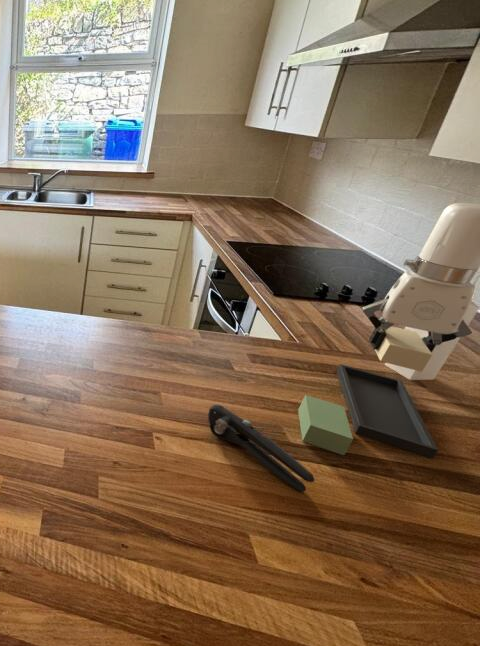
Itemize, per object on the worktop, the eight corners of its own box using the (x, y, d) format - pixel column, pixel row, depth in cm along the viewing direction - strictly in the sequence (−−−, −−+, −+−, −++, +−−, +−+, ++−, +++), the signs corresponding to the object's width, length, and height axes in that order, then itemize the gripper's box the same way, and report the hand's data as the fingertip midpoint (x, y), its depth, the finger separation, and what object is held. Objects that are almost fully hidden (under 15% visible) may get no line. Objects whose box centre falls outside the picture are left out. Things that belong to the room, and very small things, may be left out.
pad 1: (335, 422, 79) (343, 406, 78) (344, 455, 72) (353, 439, 70) (298, 410, 82) (305, 394, 80) (302, 441, 75) (310, 424, 73)
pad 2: (407, 347, 85) (416, 331, 83) (421, 371, 77) (432, 354, 75) (369, 338, 88) (377, 323, 86) (380, 361, 80) (389, 344, 78)
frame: (397, 387, 89) (401, 380, 88) (432, 458, 71) (438, 450, 71) (336, 370, 94) (339, 363, 94) (355, 433, 77) (359, 425, 76)
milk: (406, 364, 97) (455, 282, 88) (434, 380, 92) (489, 294, 83) (383, 364, 97) (429, 282, 88) (409, 380, 92) (462, 294, 82)
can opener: (194, 425, 78) (202, 403, 75) (219, 416, 80) (227, 393, 78) (291, 502, 63) (304, 477, 61) (318, 487, 66) (331, 463, 63)
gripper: (384, 267, 76) (344, 346, 83) (522, 290, 67) (463, 376, 75) (375, 255, 81) (338, 331, 89) (501, 275, 73) (448, 357, 81)
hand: (395, 351), depth 82 cm, fingers closed on pad 2, 6 cm apart
